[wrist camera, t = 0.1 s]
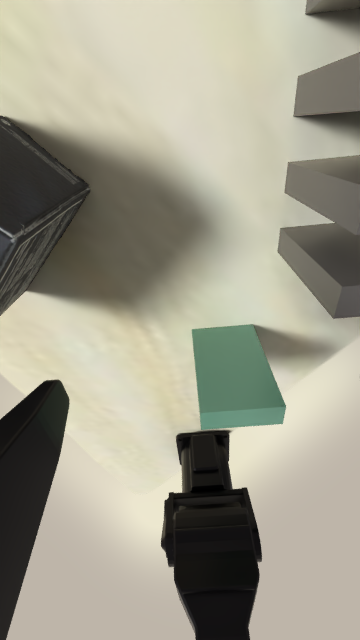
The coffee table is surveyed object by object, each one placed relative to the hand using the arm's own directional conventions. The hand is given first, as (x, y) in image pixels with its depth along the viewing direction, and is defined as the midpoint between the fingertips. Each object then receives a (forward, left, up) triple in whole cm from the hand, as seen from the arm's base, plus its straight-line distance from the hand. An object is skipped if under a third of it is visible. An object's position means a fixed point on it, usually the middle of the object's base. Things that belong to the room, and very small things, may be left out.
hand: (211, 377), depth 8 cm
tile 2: (-1, -9, -14) cm, 17 cm away
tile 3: (+3, -9, -14) cm, 18 cm away
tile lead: (-10, -2, -14) cm, 18 cm away
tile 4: (+7, -9, -14) cm, 19 cm away
